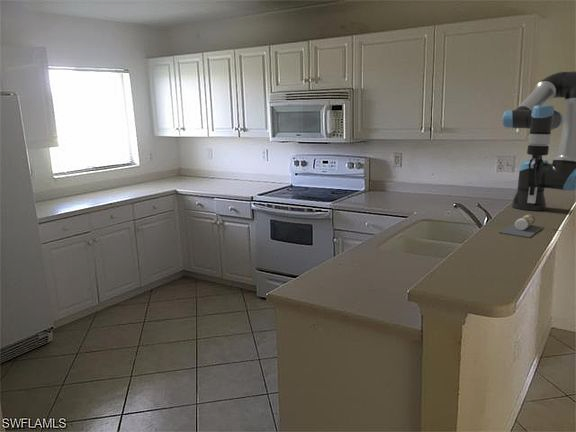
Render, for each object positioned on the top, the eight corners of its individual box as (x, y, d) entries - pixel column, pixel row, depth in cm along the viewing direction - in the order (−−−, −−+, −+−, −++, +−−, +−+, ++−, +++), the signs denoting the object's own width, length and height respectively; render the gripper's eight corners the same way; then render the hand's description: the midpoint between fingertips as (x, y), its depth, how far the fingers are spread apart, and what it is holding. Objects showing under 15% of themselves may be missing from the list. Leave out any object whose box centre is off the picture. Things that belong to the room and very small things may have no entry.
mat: (514, 223, 202) (514, 222, 202) (542, 228, 195) (542, 227, 195) (499, 233, 188) (499, 232, 187) (529, 238, 181) (529, 237, 180)
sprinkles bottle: (526, 212, 200) (517, 217, 190) (537, 217, 197) (529, 222, 187) (521, 221, 202) (512, 227, 191) (532, 226, 199) (523, 232, 189)
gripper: (532, 143, 199) (525, 199, 204) (523, 145, 189) (516, 203, 195) (552, 144, 194) (545, 201, 200) (544, 146, 185) (537, 206, 190)
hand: (531, 202), depth 197 cm, fingers closed
